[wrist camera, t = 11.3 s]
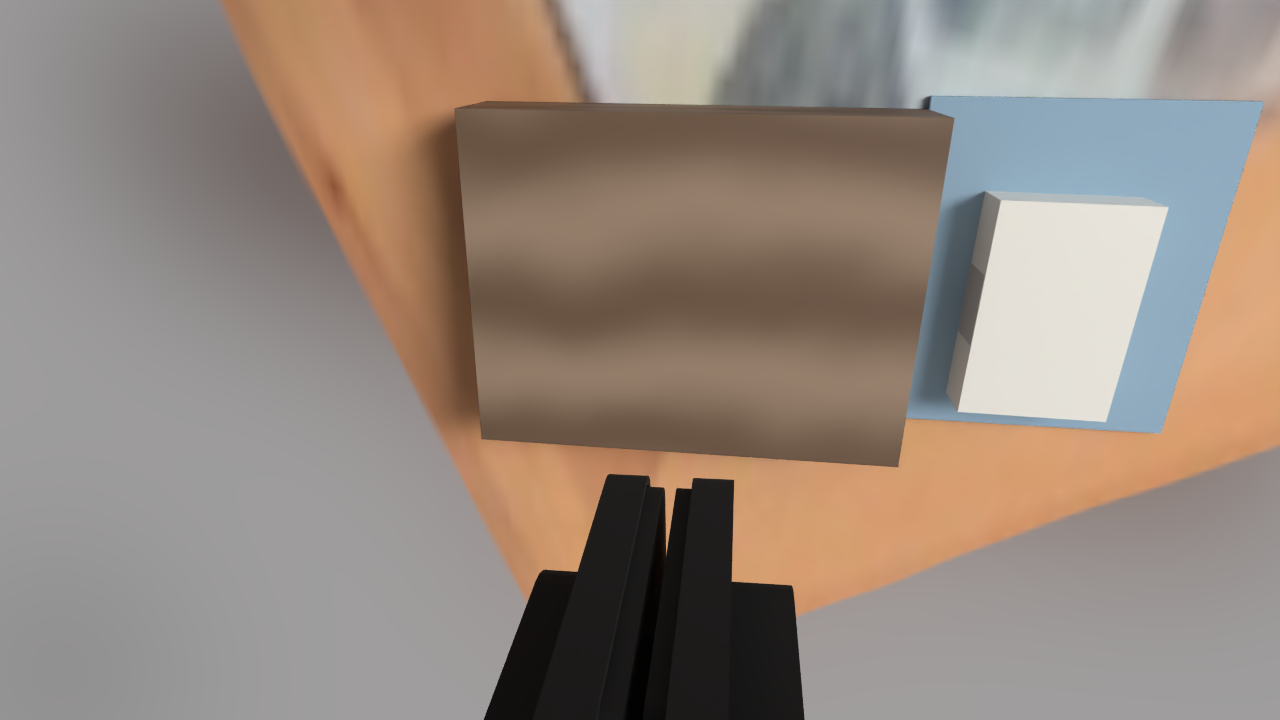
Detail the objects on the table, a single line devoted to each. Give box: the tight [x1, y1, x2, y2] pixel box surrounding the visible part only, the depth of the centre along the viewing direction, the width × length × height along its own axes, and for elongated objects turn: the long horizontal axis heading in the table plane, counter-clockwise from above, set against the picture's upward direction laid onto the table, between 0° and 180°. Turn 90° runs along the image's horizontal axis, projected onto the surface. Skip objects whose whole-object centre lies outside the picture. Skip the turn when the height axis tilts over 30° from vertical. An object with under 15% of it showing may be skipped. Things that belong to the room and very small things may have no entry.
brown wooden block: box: [455, 101, 955, 467], centre depth 32 cm, size 14×18×4 cm
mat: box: [906, 96, 1264, 433], centre depth 32 cm, size 14×12×1 cm
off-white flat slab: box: [946, 191, 1169, 422], centre depth 31 cm, size 9×6×2 cm, turn 179°
